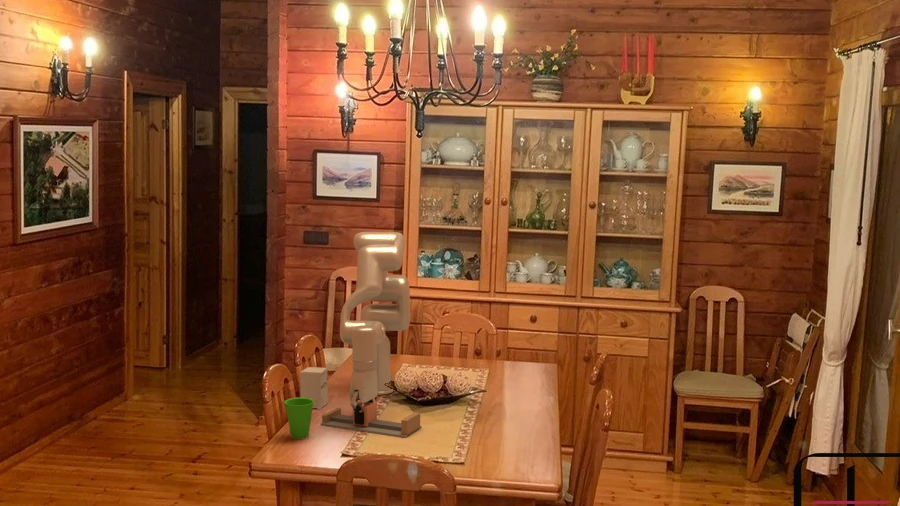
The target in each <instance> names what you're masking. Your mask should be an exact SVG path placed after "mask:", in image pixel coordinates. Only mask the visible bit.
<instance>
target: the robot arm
mask: <svg viewBox="0 0 900 506" xmlns="http://www.w3.org/2000/svg"><path fill="white" fill-rule="evenodd" d="M405 239H406V238H405V237H404V234H403V233H401V232H397V231H361V232H358V233H356V234H355V235H354V237H353V245H354V248H355V250H356V252H357V262H356V263H357V264H356V265H357V266H356V267H357V268H356V283H355V284H356V286H355V291H354V292H353V293H351V295H349V297H348V298H347V300H346V301H345V302H344V303H343V306H342V309H341V311H340V312H341V313H340V322H339V326H340V327H339V337H340V340H341V341H342V342H343V343H344V344H347V345H352V346H351V347H352V348H351V349H352V351H351V353H352V356H351V357H352V359H351V360H352V371H351V377H350V388H349V389H350V390H349V402H350V403H349V404H350V406H351V407H352V412H353V411H354V423H355V424H359V425H363V424H364V412H363V408H364V403H366V402H374V403H377V402H376V401H377V399H378V396H379V395H380V396H383V395H387V394H391V393H393V389H389V388H388V387H387V386H385V385H384V384H385V383H389V382H390V381H391V382H392V381H394V380H395V375H394V374H391V341H390V339H389V337H388V336H387V335H386V331H387V332H389V331H392V332H393V331H398V332H399V331H406V330H408V329H409V327H410V323H411V293H410V292H411V290H410V282H409V279H408V277H406V276H405V275H403V274H389V271H399V270H400V269H401V267H402V266H403V265H402V264H403V261H404V260H403V259H404V254H405V248H406V241H405ZM367 301H370V302H382V303H369V304H367V305H364V306H363V308H362V309H361V311H360V320H350V316H351V314H352V311H353V310H354V309H355V308H357V306H359V305H361V304H363V303H364V302H367ZM383 302H389V303H383ZM391 302H394V303H391ZM391 382H390V383H391ZM358 404H361V406H360V407H359V405H358Z"/></svg>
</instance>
